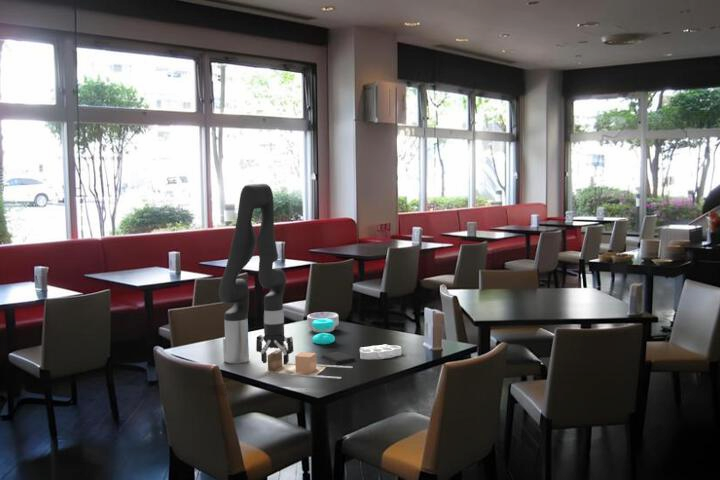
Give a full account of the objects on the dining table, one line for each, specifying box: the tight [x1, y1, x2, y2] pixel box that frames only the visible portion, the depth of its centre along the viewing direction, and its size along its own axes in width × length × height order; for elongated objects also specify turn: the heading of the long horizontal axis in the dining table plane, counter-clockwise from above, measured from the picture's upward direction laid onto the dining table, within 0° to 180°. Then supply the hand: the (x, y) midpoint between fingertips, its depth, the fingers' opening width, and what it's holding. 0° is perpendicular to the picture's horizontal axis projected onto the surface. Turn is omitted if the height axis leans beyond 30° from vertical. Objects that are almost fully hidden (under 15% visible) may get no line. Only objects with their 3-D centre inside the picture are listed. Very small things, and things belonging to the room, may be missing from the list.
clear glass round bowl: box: [306, 311, 340, 334], centre depth 317 cm, size 15×15×8 cm
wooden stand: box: [264, 349, 327, 376], centre depth 246 cm, size 20×12×7 cm, turn 74°
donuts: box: [312, 319, 336, 345], centre depth 293 cm, size 10×10×10 cm
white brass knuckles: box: [359, 343, 402, 360], centre depth 270 cm, size 3×18×15 cm
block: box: [294, 351, 317, 373], centre depth 245 cm, size 6×6×6 cm
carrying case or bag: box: [320, 351, 357, 366], centre depth 260 cm, size 11×3×15 cm
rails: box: [268, 362, 353, 380], centre depth 244 cm, size 28×15×2 cm, turn 74°
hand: (275, 363), depth 248 cm, fingers open, 8 cm apart
